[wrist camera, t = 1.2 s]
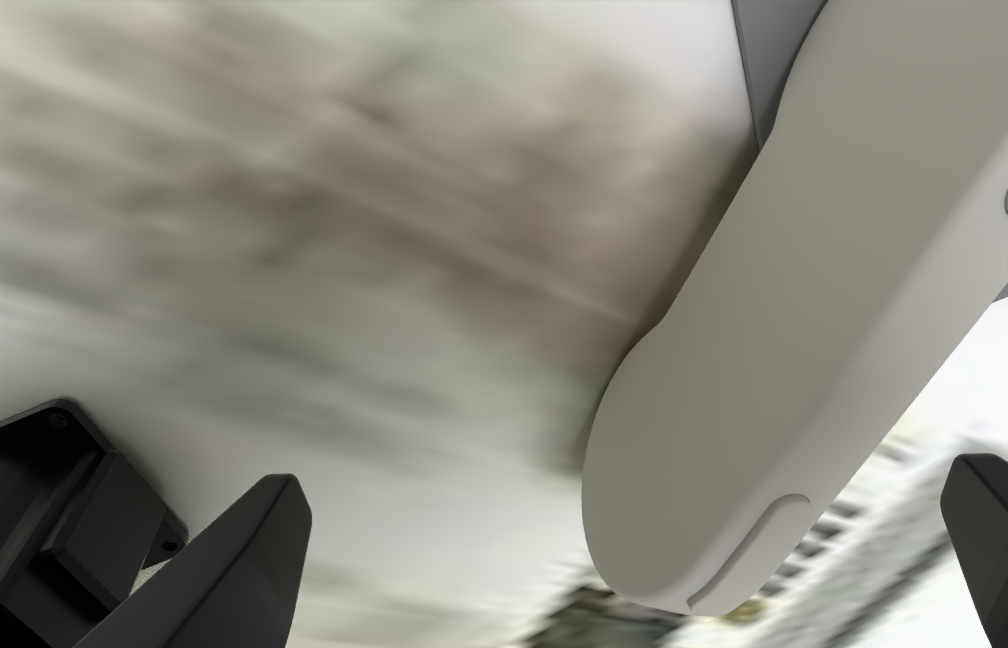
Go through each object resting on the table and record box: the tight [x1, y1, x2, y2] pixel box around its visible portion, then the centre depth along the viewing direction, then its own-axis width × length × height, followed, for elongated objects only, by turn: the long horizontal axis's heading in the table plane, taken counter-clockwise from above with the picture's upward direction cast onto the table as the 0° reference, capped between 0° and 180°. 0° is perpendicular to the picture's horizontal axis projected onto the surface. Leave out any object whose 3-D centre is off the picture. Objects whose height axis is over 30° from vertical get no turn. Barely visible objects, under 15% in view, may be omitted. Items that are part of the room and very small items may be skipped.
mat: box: [732, 0, 1008, 303], centre depth 20 cm, size 8×13×1 cm, turn 21°
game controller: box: [582, 0, 1008, 616], centre depth 17 cm, size 20×2×8 cm, turn 157°
